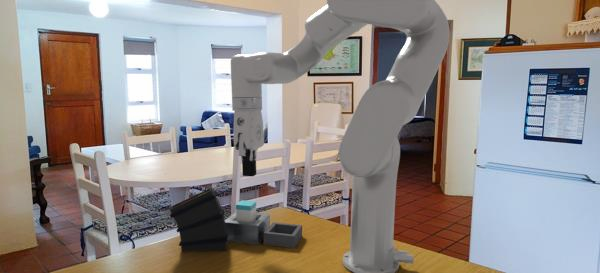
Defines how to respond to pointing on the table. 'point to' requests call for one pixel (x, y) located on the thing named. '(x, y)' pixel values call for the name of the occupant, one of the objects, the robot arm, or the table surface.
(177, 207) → the magazine
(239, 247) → the table surface
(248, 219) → the plug
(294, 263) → the table surface
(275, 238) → the grey square frame
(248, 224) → the port block
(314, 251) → the table surface
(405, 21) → the robot arm
